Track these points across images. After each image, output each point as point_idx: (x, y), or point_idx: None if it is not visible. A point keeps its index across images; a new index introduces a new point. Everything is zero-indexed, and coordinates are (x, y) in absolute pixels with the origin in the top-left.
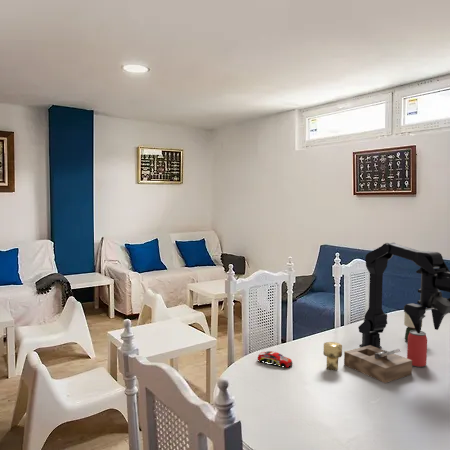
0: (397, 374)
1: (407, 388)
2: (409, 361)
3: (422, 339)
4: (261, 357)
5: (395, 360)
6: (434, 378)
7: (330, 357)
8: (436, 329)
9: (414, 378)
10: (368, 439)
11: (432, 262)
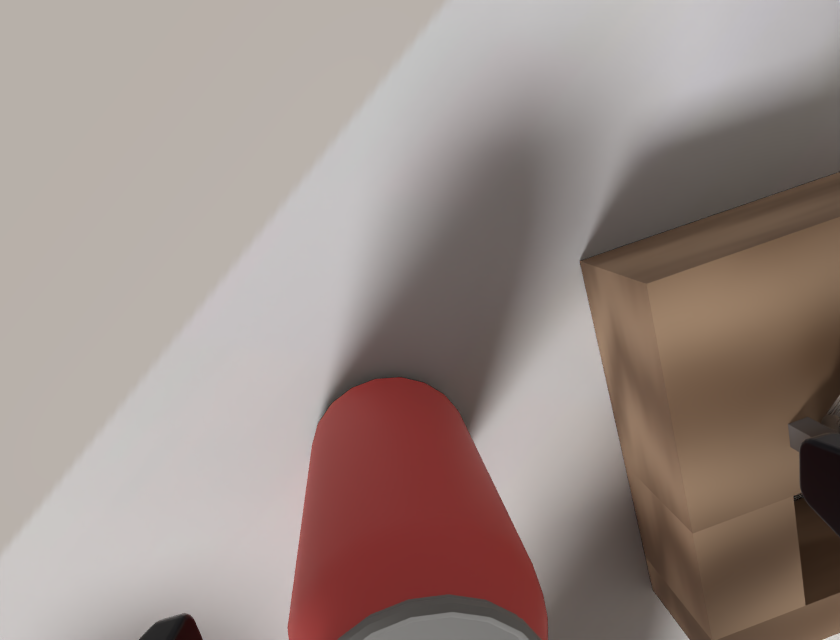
0: (781, 203)
1: (809, 19)
2: (686, 268)
3: (440, 537)
4: None
5: (799, 312)
6: (451, 143)
7: None
8: (198, 630)
9: (614, 184)
10: None
11: None
